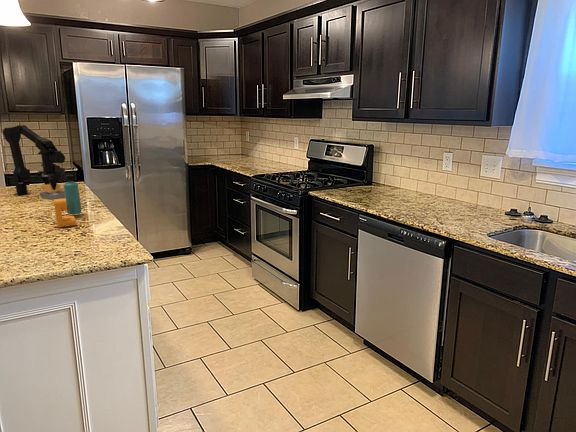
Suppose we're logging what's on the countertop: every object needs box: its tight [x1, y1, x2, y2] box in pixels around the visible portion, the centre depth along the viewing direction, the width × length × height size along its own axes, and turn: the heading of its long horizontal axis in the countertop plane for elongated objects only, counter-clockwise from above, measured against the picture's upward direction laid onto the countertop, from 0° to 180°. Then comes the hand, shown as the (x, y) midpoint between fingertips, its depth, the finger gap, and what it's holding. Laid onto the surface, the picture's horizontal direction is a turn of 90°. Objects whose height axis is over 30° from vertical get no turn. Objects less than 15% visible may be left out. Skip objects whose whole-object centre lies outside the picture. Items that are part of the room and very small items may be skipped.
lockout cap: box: [41, 183, 62, 192], centre depth 247 cm, size 7×7×4 cm
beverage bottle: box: [63, 174, 82, 215], centre depth 204 cm, size 6×7×20 cm
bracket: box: [53, 198, 77, 228], centre depth 189 cm, size 11×7×12 cm, turn 31°
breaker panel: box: [39, 189, 65, 201], centre depth 249 cm, size 14×12×3 cm
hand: (51, 189), depth 247 cm, fingers closed on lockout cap, 7 cm apart
